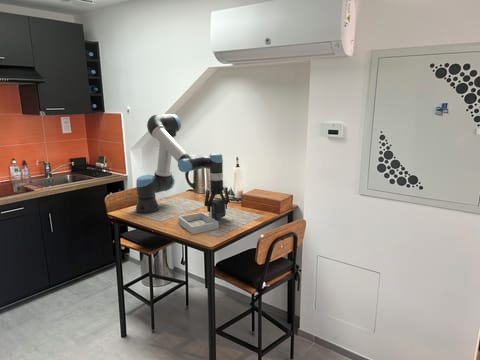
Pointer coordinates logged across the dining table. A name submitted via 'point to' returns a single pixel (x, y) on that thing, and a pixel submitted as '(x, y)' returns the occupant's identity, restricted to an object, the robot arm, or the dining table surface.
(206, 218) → the bin
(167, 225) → the dining table surface
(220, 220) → the mat
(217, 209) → the box
